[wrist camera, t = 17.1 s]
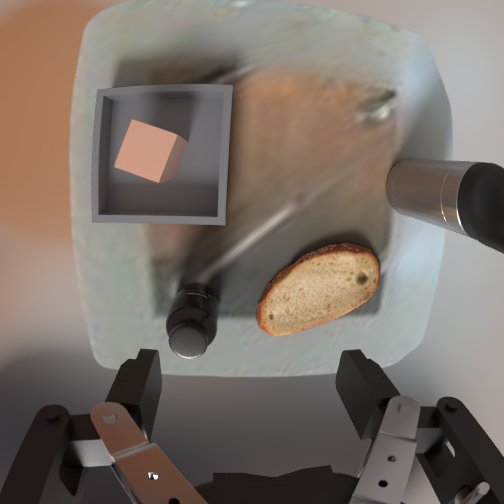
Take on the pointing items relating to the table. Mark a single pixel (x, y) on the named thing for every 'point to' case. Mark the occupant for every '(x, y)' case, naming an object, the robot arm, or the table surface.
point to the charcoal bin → (192, 163)
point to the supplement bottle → (192, 320)
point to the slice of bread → (318, 288)
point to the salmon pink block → (151, 152)
